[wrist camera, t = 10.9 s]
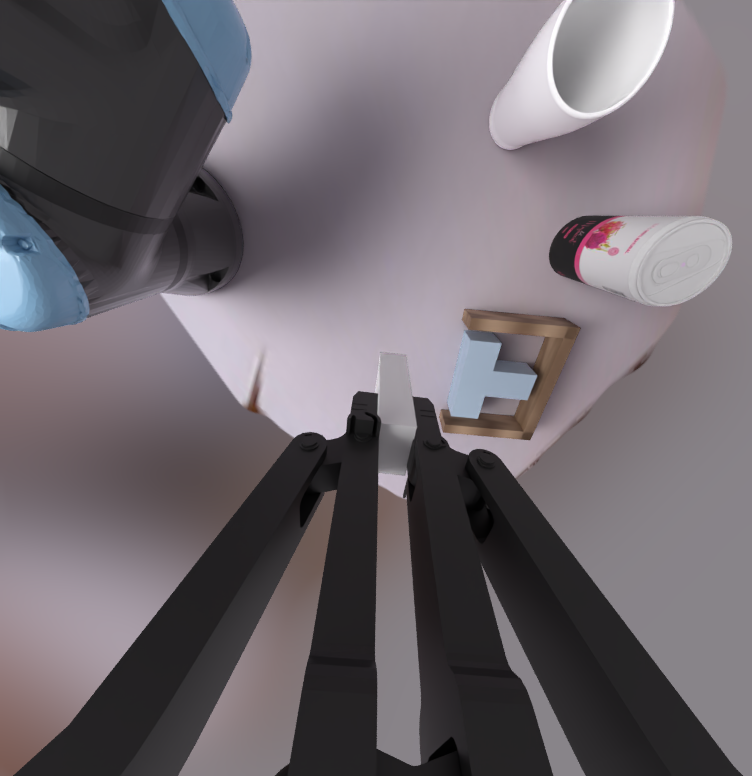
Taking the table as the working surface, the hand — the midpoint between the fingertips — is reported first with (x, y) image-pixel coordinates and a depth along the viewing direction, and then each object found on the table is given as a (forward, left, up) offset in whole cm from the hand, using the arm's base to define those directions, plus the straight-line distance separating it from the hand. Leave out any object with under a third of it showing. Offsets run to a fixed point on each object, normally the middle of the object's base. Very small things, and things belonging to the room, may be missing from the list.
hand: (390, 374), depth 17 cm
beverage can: (+22, +7, -25) cm, 34 cm away
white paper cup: (+11, +18, -25) cm, 32 cm away
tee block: (+16, -11, -25) cm, 31 cm away
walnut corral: (+17, -11, -25) cm, 32 cm away
